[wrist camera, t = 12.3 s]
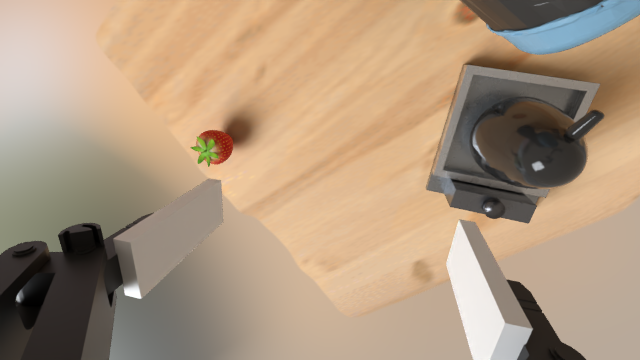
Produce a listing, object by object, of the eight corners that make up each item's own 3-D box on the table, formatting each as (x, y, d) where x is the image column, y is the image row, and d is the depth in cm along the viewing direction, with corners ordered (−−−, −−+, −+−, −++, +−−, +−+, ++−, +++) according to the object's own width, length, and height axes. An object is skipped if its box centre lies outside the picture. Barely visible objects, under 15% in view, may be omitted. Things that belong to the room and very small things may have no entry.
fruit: (247, 142, 50) (223, 155, 43) (230, 161, 52) (204, 177, 45) (224, 118, 50) (196, 128, 42) (207, 139, 52) (177, 151, 44)
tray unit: (463, 64, 39) (477, 64, 33) (587, 82, 37) (629, 86, 31) (425, 187, 46) (431, 207, 40) (529, 208, 44) (553, 233, 38)
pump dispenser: (567, 113, 38) (669, 140, 24) (513, 180, 42) (573, 236, 28) (494, 78, 38) (553, 85, 25) (448, 148, 43) (476, 188, 29)
